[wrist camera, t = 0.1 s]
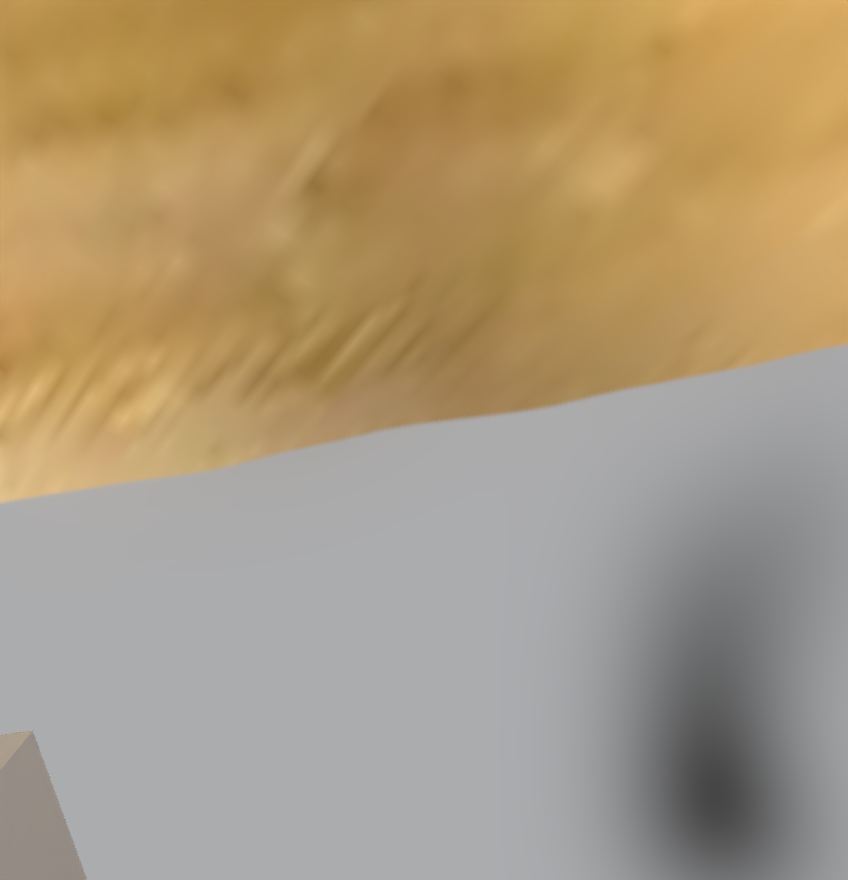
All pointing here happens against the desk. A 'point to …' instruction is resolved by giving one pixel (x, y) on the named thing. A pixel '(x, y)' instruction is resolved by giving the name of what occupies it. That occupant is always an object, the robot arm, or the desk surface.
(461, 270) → the desk surface
